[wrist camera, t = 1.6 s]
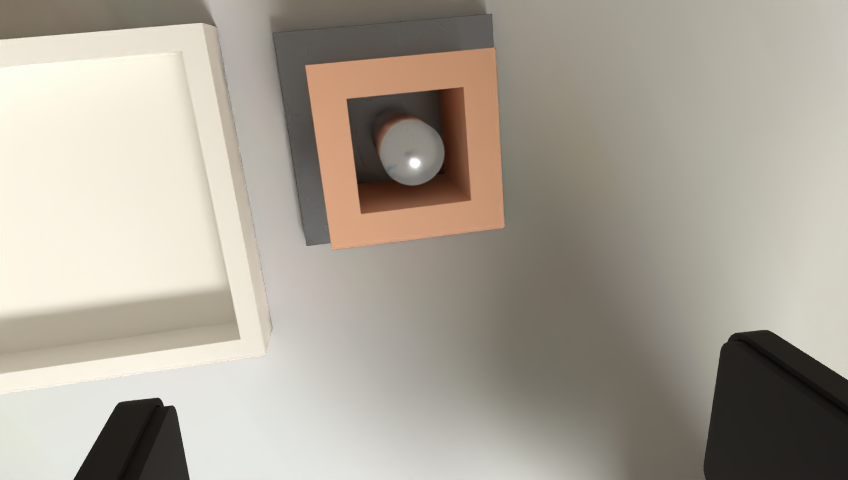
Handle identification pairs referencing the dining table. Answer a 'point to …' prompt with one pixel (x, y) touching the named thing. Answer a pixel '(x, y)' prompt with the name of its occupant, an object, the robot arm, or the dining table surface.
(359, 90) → the collar
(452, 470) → the dining table surface
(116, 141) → the tray
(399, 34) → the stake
